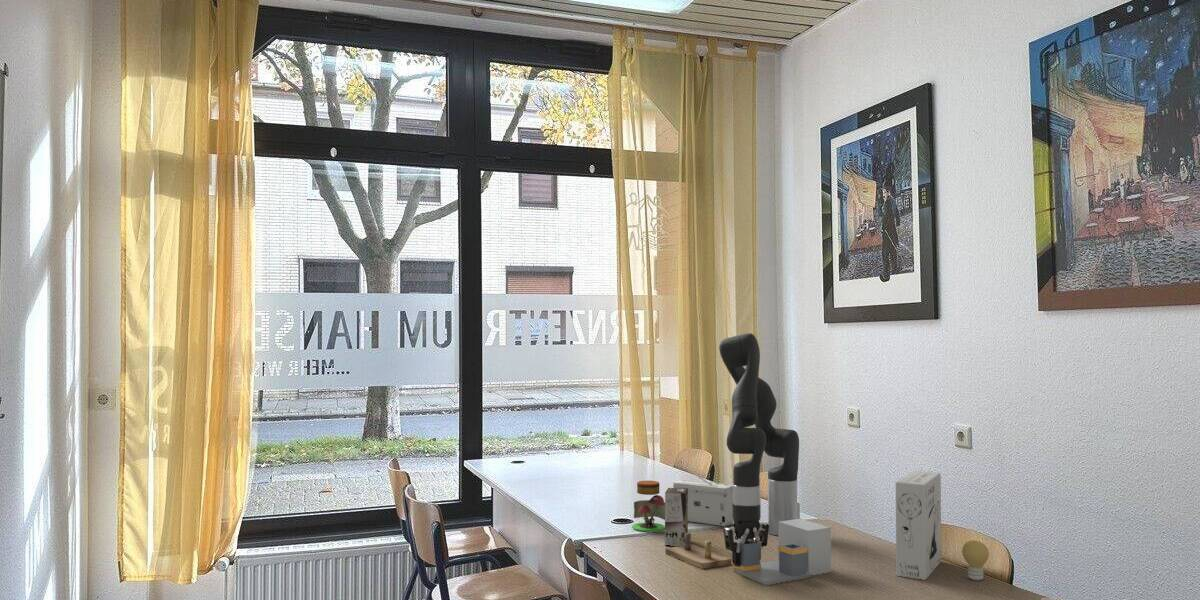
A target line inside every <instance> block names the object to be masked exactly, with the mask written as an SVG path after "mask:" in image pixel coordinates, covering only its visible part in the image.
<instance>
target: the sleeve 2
mask: <svg viewBox="0 0 1200 600" xmlns="http://www.w3.org/2000/svg"><path fill="white" fill-rule="evenodd" d="M778 550H779V572H781V573H784V574H786V575H789V576H792V577H793V576H798V575H804V574H806V552H807V547H804V546H801V545H798V544H795V543H791V544H784V545H779V546H778V545H777V551H778Z"/></svg>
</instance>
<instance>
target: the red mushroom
mask: <svg viewBox="0 0 1200 600" xmlns="http://www.w3.org/2000/svg"><path fill="white" fill-rule="evenodd" d="M636 484H637V485H636V490H637V491H636V493H637V494H639V495H643V496H644V495H646V496H652V495H653V496H652V497H651V498H650V499H644V500H643V499H642V500H637V501H634V502H633V519H638V518H639V519H640V518H642V519H643V520H644V522H639V523H634V524H632V526H631V529H632V528H633V529H632V530H634V531H637V530H638V531H637V532H643V531H647V532H649V533H653V532H655V531H656V532H661V531H663V530H665V524H664V525H663V524H660V523H657V522H655V520H656V519H655V518H658V519H661V520H664V521H665V498H663V497H662V496H661V495H659V494H660V482H659V481H656V480H639V481H637V483H636ZM654 517H655V518H654ZM660 530H661V531H660ZM647 532H646V533H647Z"/></svg>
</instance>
